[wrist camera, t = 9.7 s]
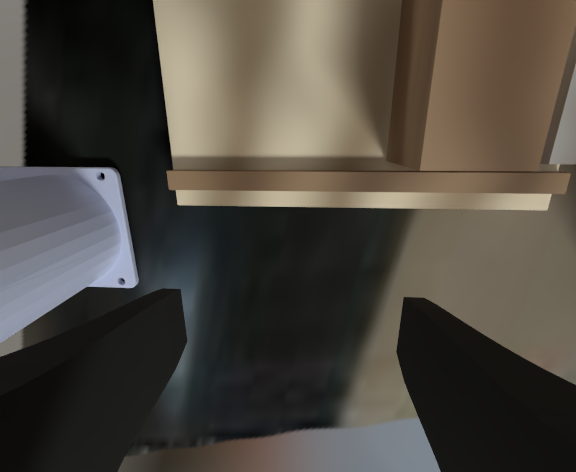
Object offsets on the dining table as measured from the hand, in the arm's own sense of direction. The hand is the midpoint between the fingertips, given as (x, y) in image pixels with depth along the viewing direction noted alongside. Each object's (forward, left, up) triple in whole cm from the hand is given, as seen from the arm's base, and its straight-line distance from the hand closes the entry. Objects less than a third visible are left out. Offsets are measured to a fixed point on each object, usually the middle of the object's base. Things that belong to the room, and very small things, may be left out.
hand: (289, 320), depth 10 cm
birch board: (+3, +9, -9) cm, 13 cm away
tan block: (+6, +9, -8) cm, 14 cm away
